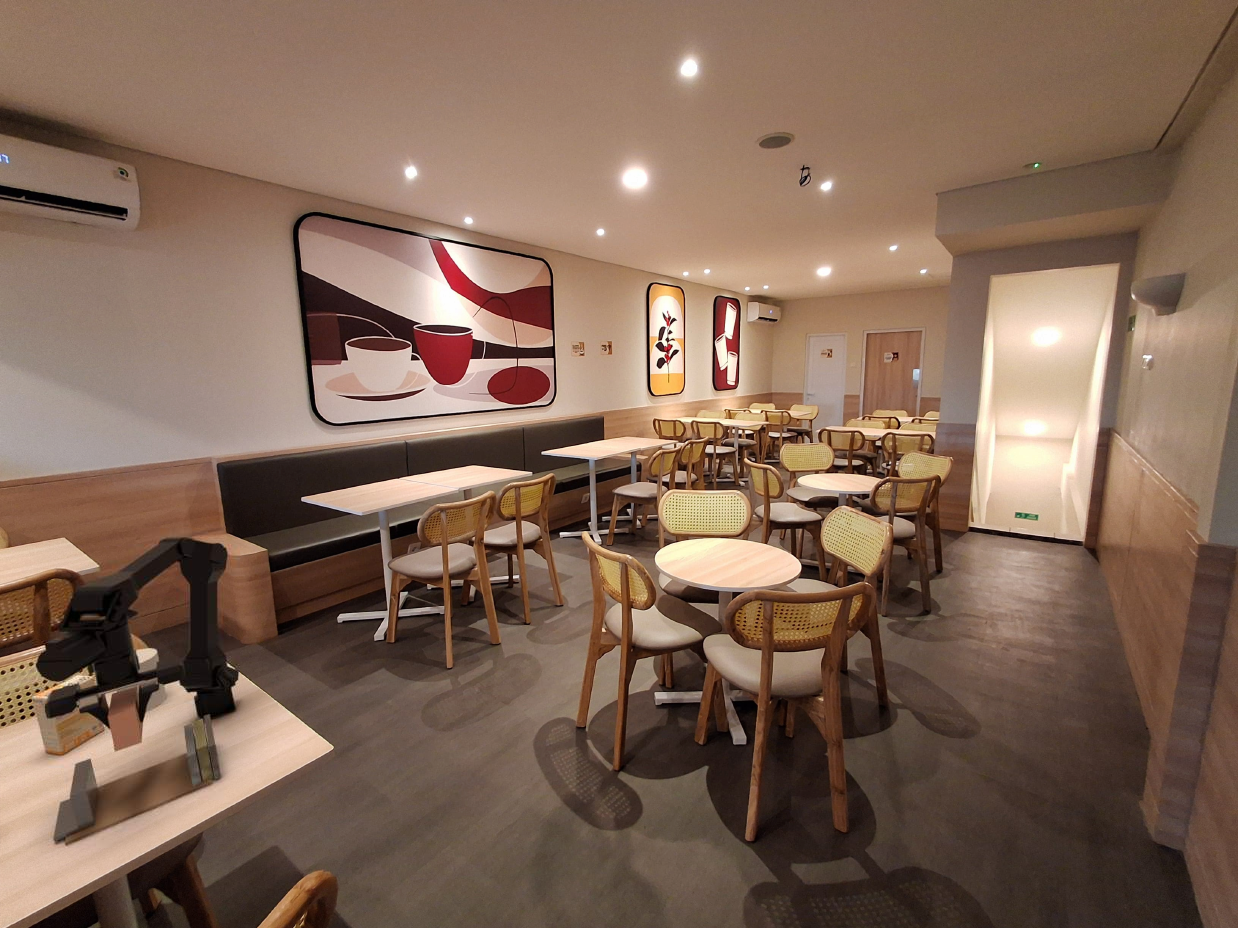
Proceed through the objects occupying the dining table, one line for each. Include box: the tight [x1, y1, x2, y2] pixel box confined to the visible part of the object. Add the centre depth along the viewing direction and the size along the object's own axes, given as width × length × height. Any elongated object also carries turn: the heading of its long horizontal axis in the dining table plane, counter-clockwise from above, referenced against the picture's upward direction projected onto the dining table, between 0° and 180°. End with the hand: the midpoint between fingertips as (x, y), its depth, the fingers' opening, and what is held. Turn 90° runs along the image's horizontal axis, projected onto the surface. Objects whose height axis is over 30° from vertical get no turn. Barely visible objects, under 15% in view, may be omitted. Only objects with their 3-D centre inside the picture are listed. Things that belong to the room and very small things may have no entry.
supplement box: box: [31, 674, 106, 756], centre depth 115 cm, size 8×5×13 cm, turn 168°
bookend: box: [52, 758, 99, 842], centre depth 96 cm, size 5×10×7 cm, turn 40°
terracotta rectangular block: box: [108, 687, 144, 752], centre depth 102 cm, size 4×9×7 cm, turn 39°
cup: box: [116, 647, 167, 712], centre depth 127 cm, size 8×8×12 cm
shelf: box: [64, 714, 222, 846], centre depth 102 cm, size 22×13×8 cm, turn 130°
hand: (128, 725), depth 102 cm, fingers closed on terracotta rectangular block, 4 cm apart
